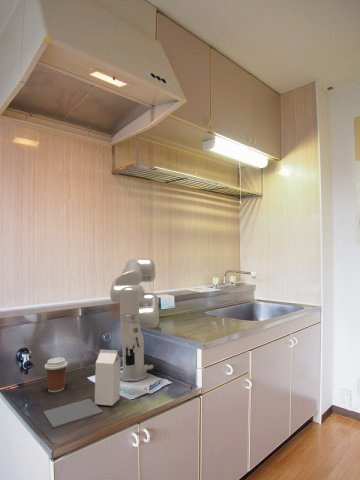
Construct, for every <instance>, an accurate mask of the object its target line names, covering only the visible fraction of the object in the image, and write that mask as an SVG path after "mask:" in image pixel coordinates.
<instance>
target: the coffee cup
mask: <svg viewBox="0 0 360 480" xmlns="http://www.w3.org/2000/svg"><path fill="white" fill-rule="evenodd" d="M46 362H47V363H45V364H44V369H45V370H46V378H47V381H46V382H47V391H48V392H49V393H59V392H62V391H63V390H64V389H65V383H66V370H67V366H68V365H69V363H68V361H66V359H65V358H64V357H54V358H49V359H48V360H47V361H46Z"/></svg>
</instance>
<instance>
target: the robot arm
mask: <svg viewBox="0 0 360 480" xmlns="http://www.w3.org/2000/svg"><path fill="white" fill-rule="evenodd" d="M155 279H156V265H155V261H154V260H152V259H150V258H132V259H130V260H128V261H127V262H126V264H125V267H124V269H123V270H122V274H120V275H118V276H117V277H115V278H114V279H113V281H112V284H111V287H110V292H109V293H110V294H109V297H110V300H111V301H112V302H113V303H115V304H119V305H120V306H119V319H120V320H119V322H120V330H119V331H120V332H119V337H120V338H119V339H120V342H119V343H120V345H121V346H122V372H120V381H122V382H123V381H124V382H127V381H135V382H139V381H138V380H140V381H142V380H141V379H143V380H145V379H146V378H147V377H148V371H150V370H153V369H154V365H153V364H145V357H144V355H145V353H144V350H145V348H144V343H145V342H144V339H145V338H144V335H143V334H142V329H145V328H147V329H148V328H155V327H157V326H158V324H159V320H160V316H159V315H160V313H159V311H160V310H159V300H158V296H157V294H156V293H155V292H145V289H144V287H143V285H141V283H149V282H150V283H152V282H153V281H155ZM141 328H142V329H141ZM144 378H145V379H144Z"/></svg>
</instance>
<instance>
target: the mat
mask: <svg viewBox="0 0 360 480" xmlns="http://www.w3.org/2000/svg"><path fill="white" fill-rule="evenodd" d="M42 412H43V415H44V417H45V418H46V420H47V421H48V422H49V424H50V426H51V427H52V429H57V428H59V427H62V426H65V425H69V424H72V423H75V422H78V421H82V420H84V419H88V418H91V417H94V416H97V415H100V414H103V413H104V411H103V410H102V409H101V408H100V407H99V406H98V404H95V401H93V400H92V399H91V398H87V399H83V400H80V401H76V402H72V403H68V404H66V405H63V406H62V405H61V406H59V407H55V408H51V409H47V410H44V411H42Z"/></svg>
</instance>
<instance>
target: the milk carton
mask: <svg viewBox="0 0 360 480" xmlns="http://www.w3.org/2000/svg"><path fill="white" fill-rule="evenodd" d="M120 373H121V357H120V356H119V354H118V350H116V349H115V350H114V349H100V350H99V354H98V357H97V359H96V361H95V373H94V375H95V376H94V377H95V379H94V380H95V381H94V403H95V404H96V405H100V406H101V405H102V406H114V404H116V403H117V402H118V401H119V400H120V397H121V396H120V393H121V379H120Z"/></svg>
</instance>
